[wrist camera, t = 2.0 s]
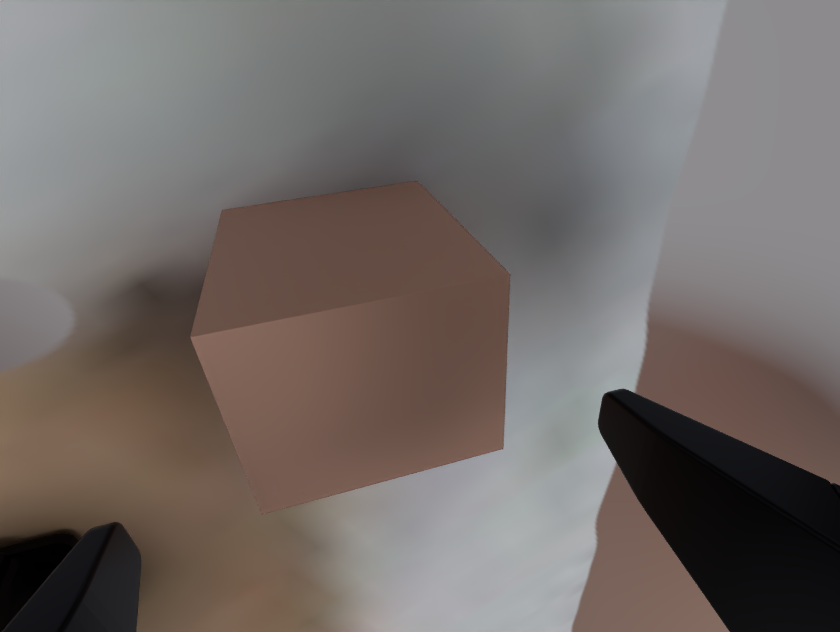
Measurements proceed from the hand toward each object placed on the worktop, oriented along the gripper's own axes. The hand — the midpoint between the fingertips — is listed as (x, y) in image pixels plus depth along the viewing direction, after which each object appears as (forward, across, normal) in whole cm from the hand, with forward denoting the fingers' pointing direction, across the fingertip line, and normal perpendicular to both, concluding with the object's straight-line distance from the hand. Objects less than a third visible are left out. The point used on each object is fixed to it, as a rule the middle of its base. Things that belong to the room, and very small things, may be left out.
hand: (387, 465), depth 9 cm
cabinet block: (+9, 0, 0) cm, 9 cm away
